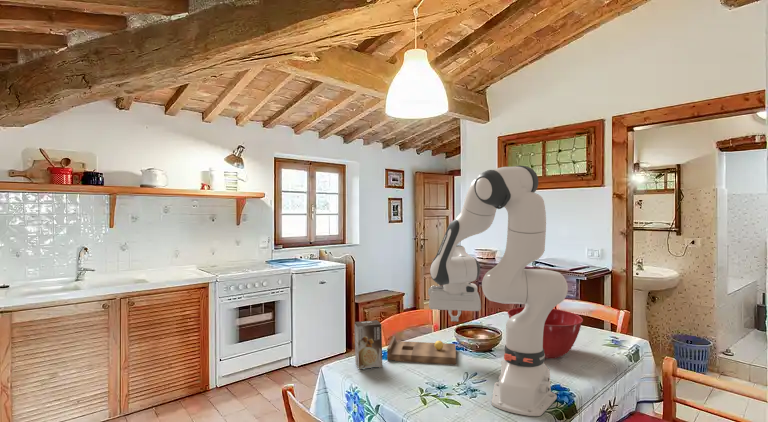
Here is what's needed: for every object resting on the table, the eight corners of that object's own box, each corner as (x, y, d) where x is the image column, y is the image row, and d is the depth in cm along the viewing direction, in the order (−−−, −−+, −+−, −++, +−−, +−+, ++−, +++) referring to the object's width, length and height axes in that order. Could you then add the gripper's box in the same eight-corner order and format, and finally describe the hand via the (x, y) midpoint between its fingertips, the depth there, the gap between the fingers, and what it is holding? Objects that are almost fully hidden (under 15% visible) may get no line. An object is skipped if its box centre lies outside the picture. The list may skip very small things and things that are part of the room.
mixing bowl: (568, 342, 177) (568, 306, 177) (595, 367, 148) (595, 325, 148) (501, 340, 180) (501, 305, 180) (516, 365, 151) (516, 323, 151)
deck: (455, 349, 168) (455, 339, 168) (455, 364, 152) (455, 352, 152) (393, 346, 172) (393, 336, 172) (387, 360, 157) (387, 348, 157)
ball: (441, 351, 159) (441, 342, 159) (433, 350, 160) (433, 341, 160) (444, 349, 162) (444, 340, 162) (436, 347, 164) (436, 338, 164)
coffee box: (378, 361, 156) (378, 319, 156) (382, 367, 149) (382, 324, 149) (354, 364, 153) (354, 321, 153) (358, 370, 147) (357, 326, 147)
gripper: (427, 287, 159) (427, 322, 159) (481, 288, 155) (481, 324, 156) (428, 283, 165) (428, 317, 165) (480, 285, 162) (480, 319, 162)
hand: (454, 320), depth 160 cm, fingers closed
